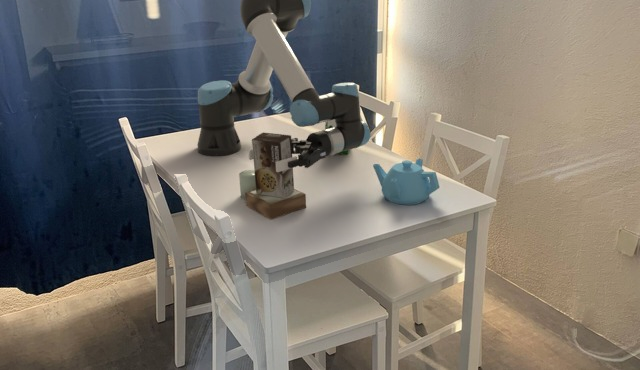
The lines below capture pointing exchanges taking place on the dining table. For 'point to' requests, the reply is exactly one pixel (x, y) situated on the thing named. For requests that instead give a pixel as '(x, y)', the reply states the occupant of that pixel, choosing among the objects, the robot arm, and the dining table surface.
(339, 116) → the robot arm
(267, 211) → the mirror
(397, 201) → the teapot
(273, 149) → the coffee box
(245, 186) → the sage rounded cylinder
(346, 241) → the dining table surface
